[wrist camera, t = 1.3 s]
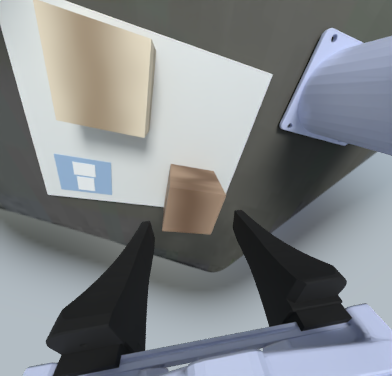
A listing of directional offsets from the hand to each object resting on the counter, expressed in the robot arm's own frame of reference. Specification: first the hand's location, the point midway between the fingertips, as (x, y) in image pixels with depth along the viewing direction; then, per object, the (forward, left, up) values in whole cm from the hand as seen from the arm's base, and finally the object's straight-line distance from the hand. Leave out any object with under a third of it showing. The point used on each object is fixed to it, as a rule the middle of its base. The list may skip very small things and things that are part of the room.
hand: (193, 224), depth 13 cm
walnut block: (0, 0, -6) cm, 6 cm away
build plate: (+5, -5, -7) cm, 10 cm away
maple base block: (+8, -9, -6) cm, 13 cm away
